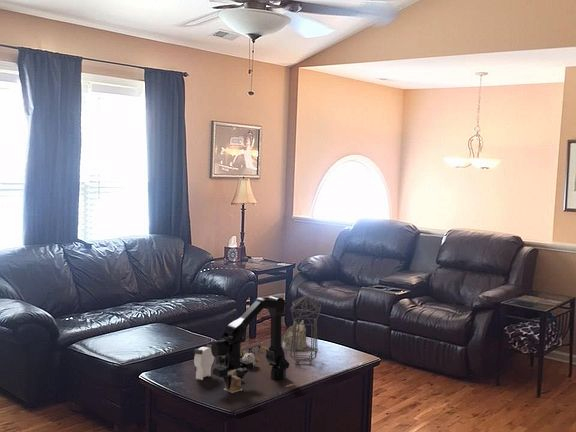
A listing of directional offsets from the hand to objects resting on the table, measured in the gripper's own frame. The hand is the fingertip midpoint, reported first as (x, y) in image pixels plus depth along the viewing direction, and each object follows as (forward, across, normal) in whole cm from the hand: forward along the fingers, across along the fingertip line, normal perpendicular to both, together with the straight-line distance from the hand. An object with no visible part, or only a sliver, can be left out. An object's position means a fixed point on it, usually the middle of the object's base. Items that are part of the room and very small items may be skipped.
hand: (233, 387), depth 272 cm
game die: (+2, -25, -20) cm, 32 cm away
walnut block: (+1, 0, 0) cm, 1 cm away
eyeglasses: (+2, -41, -32) cm, 52 cm away
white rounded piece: (+2, +1, -21) cm, 21 cm away
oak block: (+1, -8, -10) cm, 13 cm away
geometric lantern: (+2, -53, -10) cm, 54 cm away
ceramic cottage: (+2, -70, -36) cm, 79 cm away
